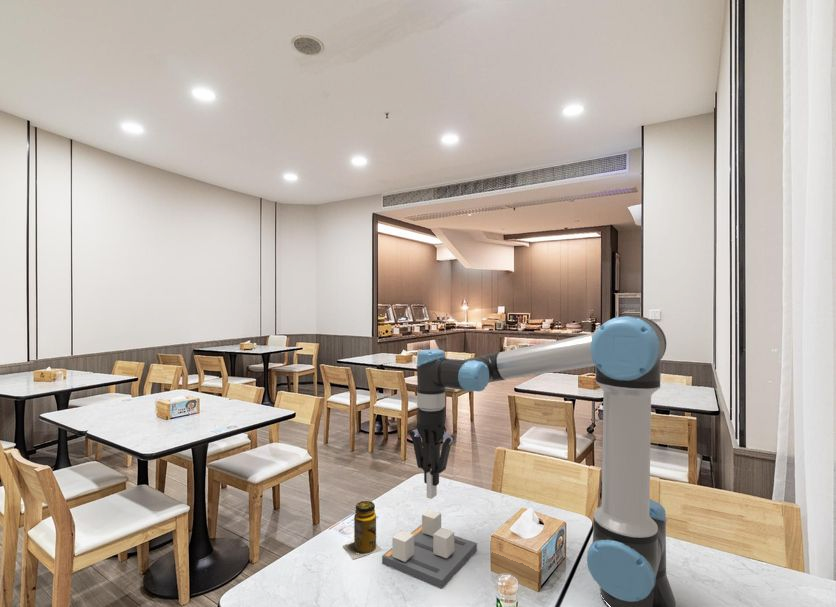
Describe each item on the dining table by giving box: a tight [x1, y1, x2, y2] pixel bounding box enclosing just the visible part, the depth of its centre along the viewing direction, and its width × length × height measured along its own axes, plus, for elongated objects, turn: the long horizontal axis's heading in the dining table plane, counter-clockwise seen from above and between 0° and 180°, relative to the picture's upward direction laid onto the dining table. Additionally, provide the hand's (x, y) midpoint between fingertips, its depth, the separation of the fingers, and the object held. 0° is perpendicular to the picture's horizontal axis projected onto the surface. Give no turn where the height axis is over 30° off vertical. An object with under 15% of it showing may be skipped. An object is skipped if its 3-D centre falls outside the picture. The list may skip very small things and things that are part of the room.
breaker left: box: [391, 530, 414, 562], centre depth 110 cm, size 4×4×5 cm
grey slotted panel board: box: [381, 524, 478, 590], centre depth 113 cm, size 18×19×2 cm
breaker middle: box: [433, 527, 455, 558], centre depth 111 cm, size 4×4×5 cm
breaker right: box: [421, 508, 442, 536], centre depth 121 cm, size 4×4×5 cm
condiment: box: [342, 500, 382, 560], centre depth 117 cm, size 7×8×12 cm
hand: (431, 496), depth 113 cm, fingers closed
